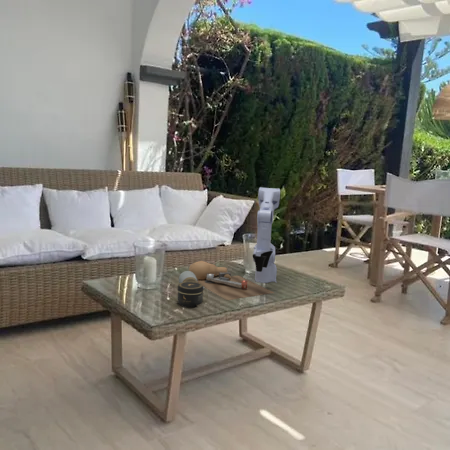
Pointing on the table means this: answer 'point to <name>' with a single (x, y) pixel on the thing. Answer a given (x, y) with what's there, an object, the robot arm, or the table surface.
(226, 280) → the lever
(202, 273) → the squash
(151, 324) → the table surface
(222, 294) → the board
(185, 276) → the ceramic mug
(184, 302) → the jar
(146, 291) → the table surface
